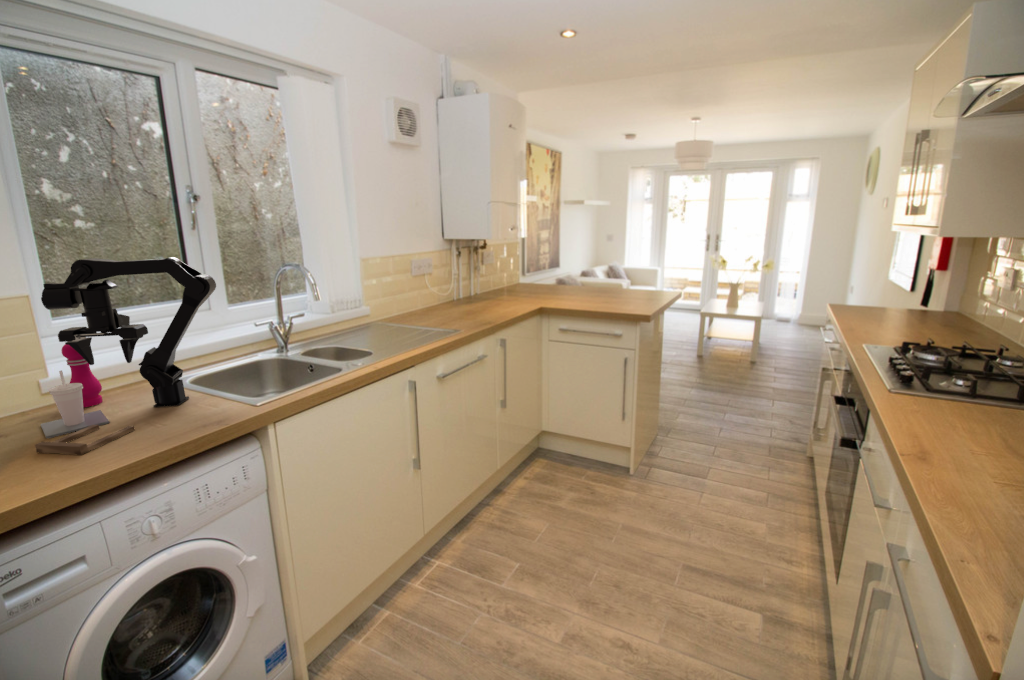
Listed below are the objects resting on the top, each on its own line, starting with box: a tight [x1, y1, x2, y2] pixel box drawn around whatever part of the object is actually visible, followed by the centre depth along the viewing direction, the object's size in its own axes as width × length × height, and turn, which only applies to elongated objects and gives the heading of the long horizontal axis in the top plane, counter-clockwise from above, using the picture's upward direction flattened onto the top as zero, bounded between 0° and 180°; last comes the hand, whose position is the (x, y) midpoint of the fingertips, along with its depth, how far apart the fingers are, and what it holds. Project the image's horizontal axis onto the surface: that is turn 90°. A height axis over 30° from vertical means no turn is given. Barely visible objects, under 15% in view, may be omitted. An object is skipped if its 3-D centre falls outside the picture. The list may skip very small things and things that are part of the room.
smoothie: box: [48, 370, 85, 426], centre depth 123 cm, size 6×6×14 cm
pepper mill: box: [61, 344, 103, 409], centre depth 138 cm, size 7×7×20 cm
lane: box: [34, 425, 135, 456], centre depth 115 cm, size 13×12×2 cm
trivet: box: [40, 409, 110, 440], centre depth 125 cm, size 12×12×1 cm
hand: (111, 363), depth 133 cm, fingers open, 9 cm apart
